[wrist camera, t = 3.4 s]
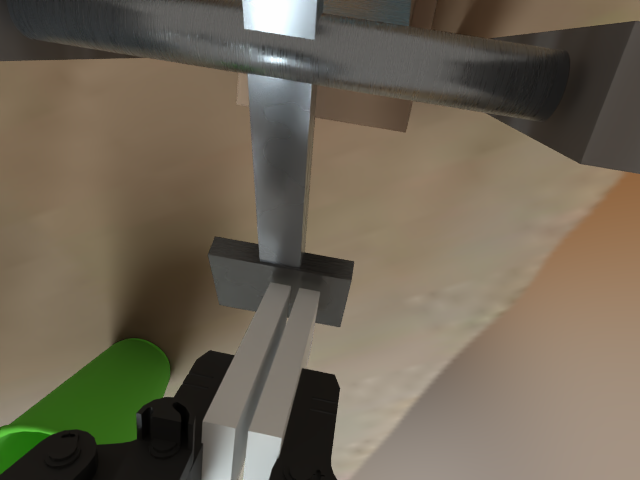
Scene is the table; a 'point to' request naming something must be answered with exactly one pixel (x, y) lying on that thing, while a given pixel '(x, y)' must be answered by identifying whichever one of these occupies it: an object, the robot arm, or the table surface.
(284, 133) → the lever
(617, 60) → the grey angular frame
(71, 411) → the cup
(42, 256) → the table surface
